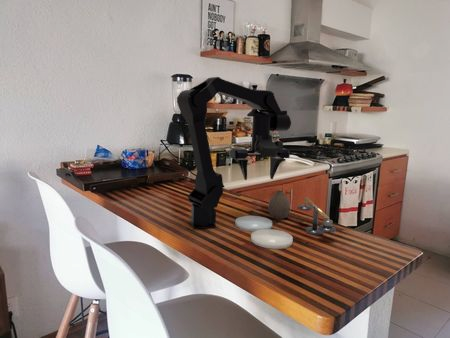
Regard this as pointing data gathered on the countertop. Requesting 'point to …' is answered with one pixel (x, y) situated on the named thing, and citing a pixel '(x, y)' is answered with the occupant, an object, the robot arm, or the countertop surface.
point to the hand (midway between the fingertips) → (258, 179)
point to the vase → (279, 205)
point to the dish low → (271, 239)
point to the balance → (326, 222)
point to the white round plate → (253, 223)
